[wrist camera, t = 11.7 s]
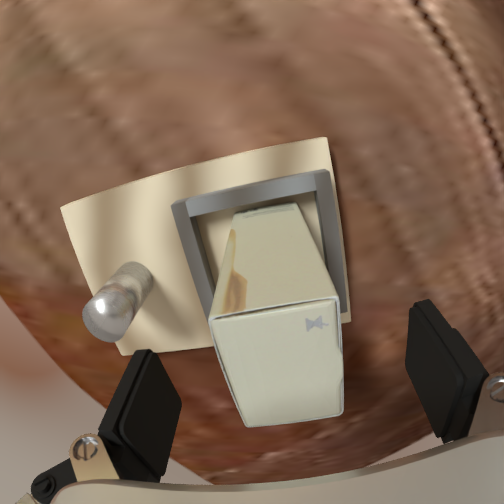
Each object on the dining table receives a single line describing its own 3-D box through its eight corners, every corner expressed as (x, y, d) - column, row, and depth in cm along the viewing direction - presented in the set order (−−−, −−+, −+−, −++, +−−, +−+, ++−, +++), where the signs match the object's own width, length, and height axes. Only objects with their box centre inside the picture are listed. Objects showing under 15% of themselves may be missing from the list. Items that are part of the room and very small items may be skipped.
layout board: (322, 137, 20) (331, 137, 18) (346, 311, 25) (355, 332, 23) (69, 202, 23) (49, 212, 20) (127, 345, 27) (116, 365, 25)
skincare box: (232, 211, 21) (199, 309, 10) (297, 199, 21) (341, 286, 9) (251, 295, 23) (242, 433, 12) (310, 286, 23) (345, 418, 12)
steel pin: (145, 257, 22) (113, 297, 17) (158, 293, 23) (132, 340, 18) (112, 265, 23) (75, 304, 17) (126, 299, 24) (94, 343, 18)
